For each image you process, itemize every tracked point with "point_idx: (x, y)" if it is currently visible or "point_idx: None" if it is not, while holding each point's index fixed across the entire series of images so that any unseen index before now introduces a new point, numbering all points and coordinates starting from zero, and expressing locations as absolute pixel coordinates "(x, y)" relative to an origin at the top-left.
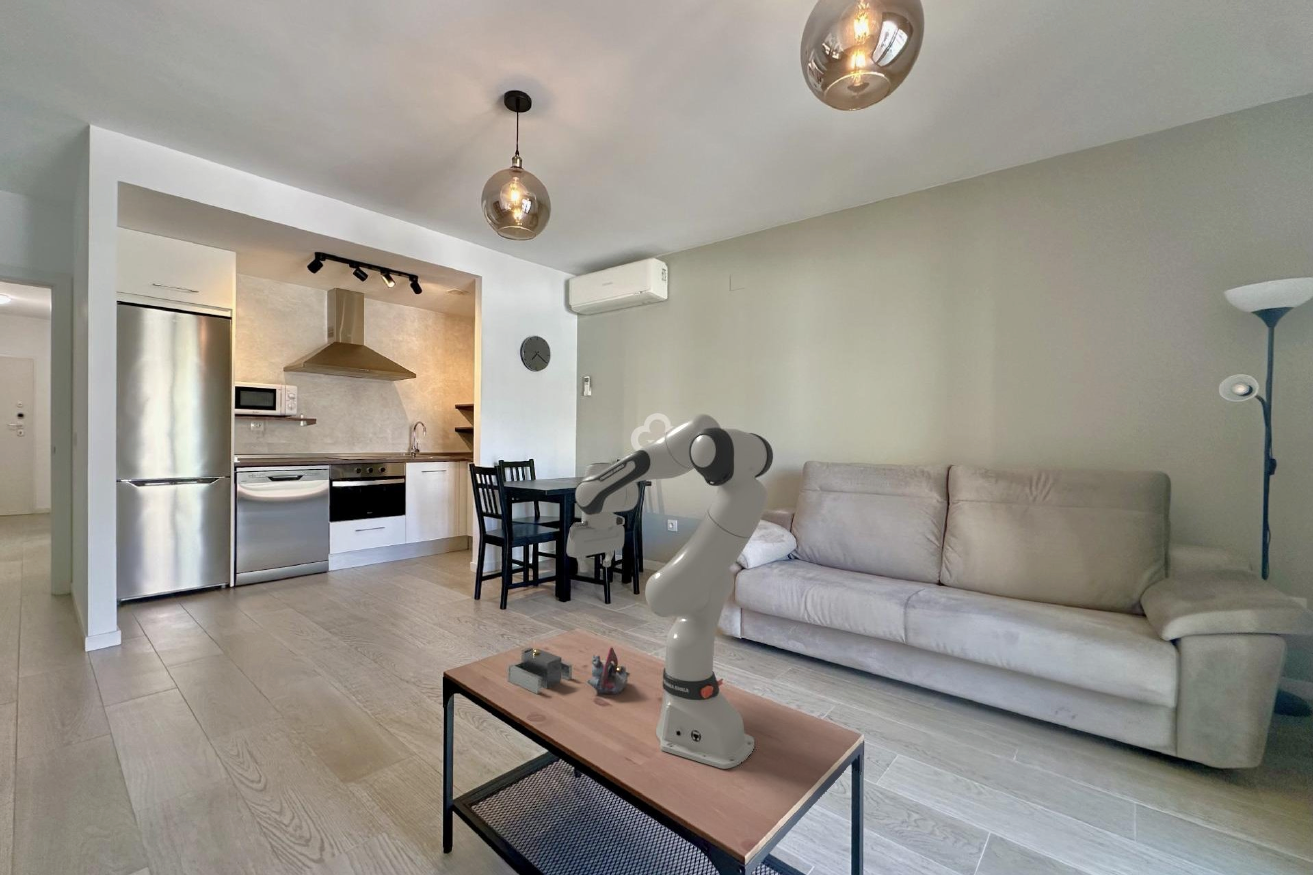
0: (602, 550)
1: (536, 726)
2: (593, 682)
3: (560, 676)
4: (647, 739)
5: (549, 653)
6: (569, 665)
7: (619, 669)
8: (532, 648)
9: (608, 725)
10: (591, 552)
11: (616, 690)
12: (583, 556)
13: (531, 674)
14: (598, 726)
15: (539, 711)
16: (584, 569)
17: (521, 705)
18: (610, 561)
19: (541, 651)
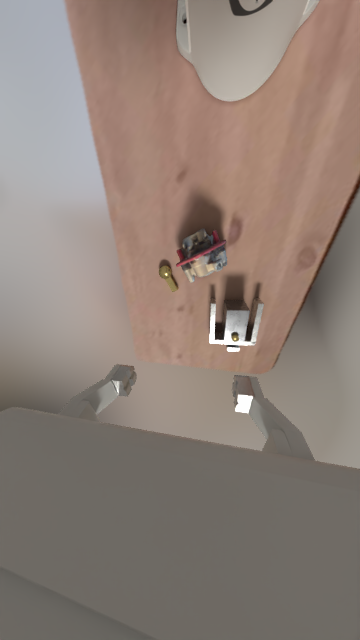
0: (141, 445)
1: (326, 240)
2: (225, 255)
3: (225, 302)
4: (293, 70)
5: (226, 327)
6: (214, 303)
7: (167, 270)
8: (228, 347)
9: (283, 168)
10: (253, 468)
11: (207, 234)
12: (303, 457)
13: (258, 316)
14: (292, 177)
15: (292, 266)
16: (257, 383)
17: (289, 290)
18: (108, 376)
19: (227, 336)
